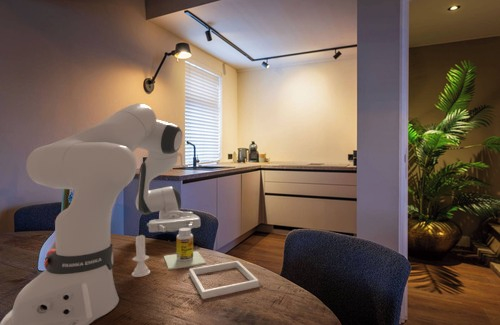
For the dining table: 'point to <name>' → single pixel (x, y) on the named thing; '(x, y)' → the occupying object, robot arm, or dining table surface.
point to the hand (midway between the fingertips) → (178, 228)
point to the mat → (175, 264)
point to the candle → (140, 258)
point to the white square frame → (223, 290)
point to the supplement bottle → (184, 244)
